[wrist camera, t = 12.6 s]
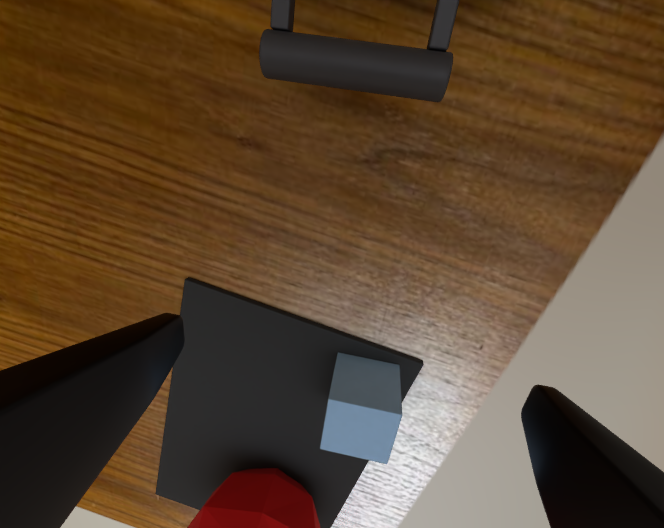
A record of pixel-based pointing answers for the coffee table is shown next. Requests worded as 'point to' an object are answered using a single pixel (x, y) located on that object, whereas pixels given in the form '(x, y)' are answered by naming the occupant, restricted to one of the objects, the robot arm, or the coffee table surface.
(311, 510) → the apple
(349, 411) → the block
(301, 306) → the coffee table surface
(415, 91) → the drawer
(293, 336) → the mat
